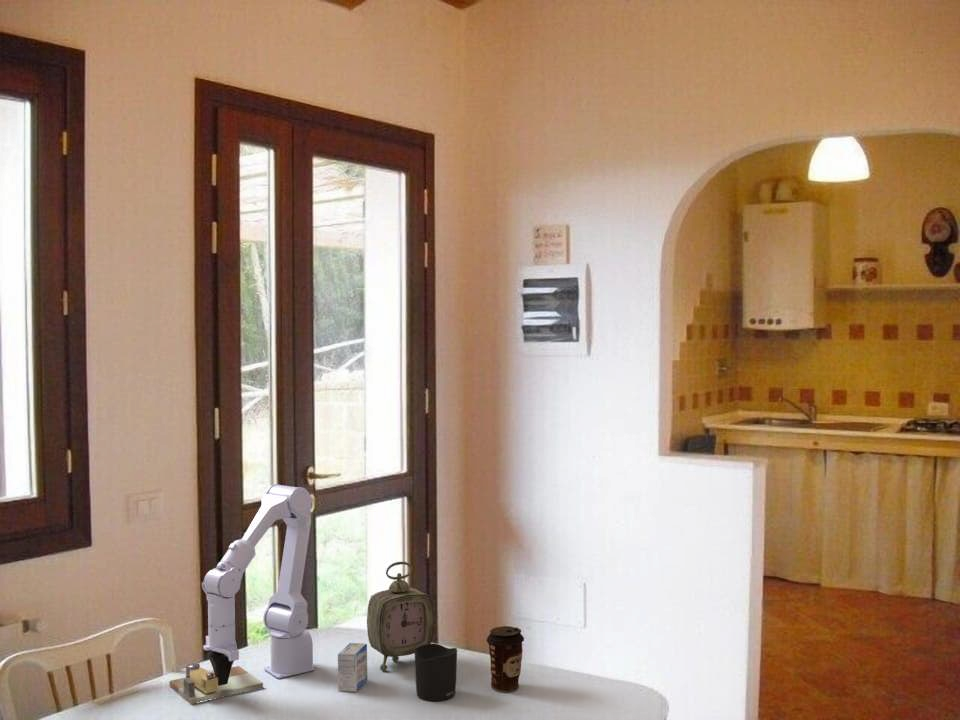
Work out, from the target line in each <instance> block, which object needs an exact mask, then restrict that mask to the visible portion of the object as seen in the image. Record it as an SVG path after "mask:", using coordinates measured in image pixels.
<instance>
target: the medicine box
mask: <svg viewBox="0 0 960 720" xmlns="http://www.w3.org/2000/svg"><path fill="white" fill-rule="evenodd" d="M367 681H368V644H367V643H362V642H361V643H360V642H349V643H348V644H347V645H346V646H345V647H344V648H343V649H342V650H341V651H340V652H339V653H337V682H338V683H337V684H338V685H337V686H338V689H337V690H338V691H339V692H347V693H348V692H349V693H358V691H359V690H360V689H361V687H362V686H363V685H364V684H365V683H366V682H367Z"/></svg>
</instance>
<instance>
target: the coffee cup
mask: <svg viewBox="0 0 960 720" xmlns="http://www.w3.org/2000/svg"><path fill="white" fill-rule="evenodd" d="M521 633H522V629H520V628H519V627H514V626H506V625H504V626H496V627H494V628H492V629H491V630H490V631H489V635H487V638H486V642H487V644H488V648H489V651H488V652H489V660H490V673H491V674H490V675H491V683H490V686H491V687H490V688H491V689H492V690H494V691H496V692H501V693H506V692H514V691H516V690H518V689H519V688H520V684H519V683H520V682H519V679H520V674H521V671H522V669H521V668H522V660H523V642H524V641H525V637H524V636H523V634H521Z"/></svg>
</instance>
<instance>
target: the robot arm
mask: <svg viewBox="0 0 960 720" xmlns="http://www.w3.org/2000/svg"><path fill="white" fill-rule="evenodd" d="M260 499H261V506H260V507H259V509H258V511H257V512H256V514H255V516H254V518H253V519H252V521H251V523H250V524H249V526H248V528H247V529H246V532H245V533H244V535H243V536H242V538H239V539H236V540H234V541H233V542H232V543H230V545H229V546H228V549H227V551H226V552H225V554H224V555H223V557H222V558H221V560H220V561H219V562H218V563H217V565H216V567H215V568H212V569H210V570H209V571H208V572H207V573H206V574H205V576H204V579H203V582H201V588H202V590H203V592H204V593H205V595H206V601H207V616H208V618H207V622H208V623H207V625H208V628H207V631H208V632H207V633H208V635H206V636H205V644H204V645H203V646H202V649H203V650H204V651H208V653H206V657H207V658H208V660H209V662H210V664H211V667H212V670H213V671H214V674H215V676H216V677H218V686H220V685H225V684H227V683H228V679H229V675H230V671H231V667H233V664H234V662H235V661H238V660H240V650H238V646H237V642H236V617H235V616H236V613H235V612H236V609H235V607H236V606H235V605H236V604H235V601H236V599H235V595H236V594H237V593H238V591H240V588H241V584H242V578H243V576H244V575H243V574H244V572H245V571H246V570H247V568H248V566H249V565H250V564H251V562H252V560H253V559H254V557H255V556H256V548H255V547H256V546H257V544H258V543H259V542H260V540H261V539H263V537H264V536H265V534H266V533H267V532H268V530H269V529H270V528H271V527H272V525H273V524H274V523H275V521H278V520H283V522H284V523H285V524H286V531H285V539H284V546H283V552H282V559H281V565H280V573H279V578H278V587H277V591H275V593H273V595H271V596H270V597H269V599H268V604H267V606H266V608H265V610H264V612H263V623H264V626H265V628H267V629H268V634H270V665H269V666H265V667H264V669H263V670H265V671H266V672H268V673H269V674H270V675H272V676H274V677H275V678H276V679H282V678H286V677H291V676H295V675H298V674H303V673H309V672H312V671H315V668H314V665H313V664H314V663H313V662H314V656H313V655H314V654H313V653H314V652H313V647H314V645H313V643H314V642H313V638H312V635H311V633H310V632H309V631H308V630H307V627H308V625H309V614H308V605H309V604H308V602H307V600H306V599H305V598H304V597H303V595H302V587H303V579H304V572H305V565H306V560H307V559H306V558H307V551H308V546H309V541H310V540H309V538H310V531H311V525H312V514H311V510H312V509H311V508H312V501H313V497H312V495H311V494H310V492H309V491H308V489H306V488H305V487H302V486H301V487H300V486H297V487H296V486H291V485H290V486H289V485H281V484H279V483H275V484H271V485H270V486H269V487H268V488H267V489H266V491H265V493H264V495H262V496H261V498H260ZM209 651H211V652H209Z"/></svg>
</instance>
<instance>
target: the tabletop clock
mask: <svg viewBox="0 0 960 720" xmlns="http://www.w3.org/2000/svg"><path fill="white" fill-rule="evenodd" d="M399 565H405V566H408V567H409V569H410V571H409V572H408V573H405V575H404V574H403V575H402V573H400V572H398V573H397V574H396V576H390V575H389V573H388V572H389V571H390V570H391V569H392V568H394V567H395V566H399ZM412 572H413V567H412V564H410V562H406V561H395V562H393V563H392V564H390V565H389V566H388V567H387V568H386V571H385V575H386V577H387V578H388V579H390V580H392V582H391V583H390V584H389V587H388V589H385V590H381V591H378V592H376V593H374V594H372V595H371V596H370V597H369V601H368V603H367V614H366V627H367V628H366V629H367V630H366V631H367V638H368V642H369V645H370V647H371V648H372V649H374V650H376V651H377V652H378V653H380V654H382V655H383V663H382V664H380V666H379V668H380V671H382V672H385V671H387V669H388V666H387V664H386V663H387V661H388V658H389V657H390V658H392V659H391V661H393V662H394V663H397V662H398V661H399V660H400V658H399V657H403V656H410V655H415V649H416V648H417V647H419V646H421V645H425V644H432V642H433V638H434V627H435V625H434V623H435V619H434V618H435V616H434V607H433V602H432V599H431V596H430V595H428V594H426V593H424V592H422V591H421V590H419V589H416V588H414V587H410V585H409V583H408V582H407V581H406V580H404V579H406V578H408V577H409V576H410V575H411V574H412Z"/></svg>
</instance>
